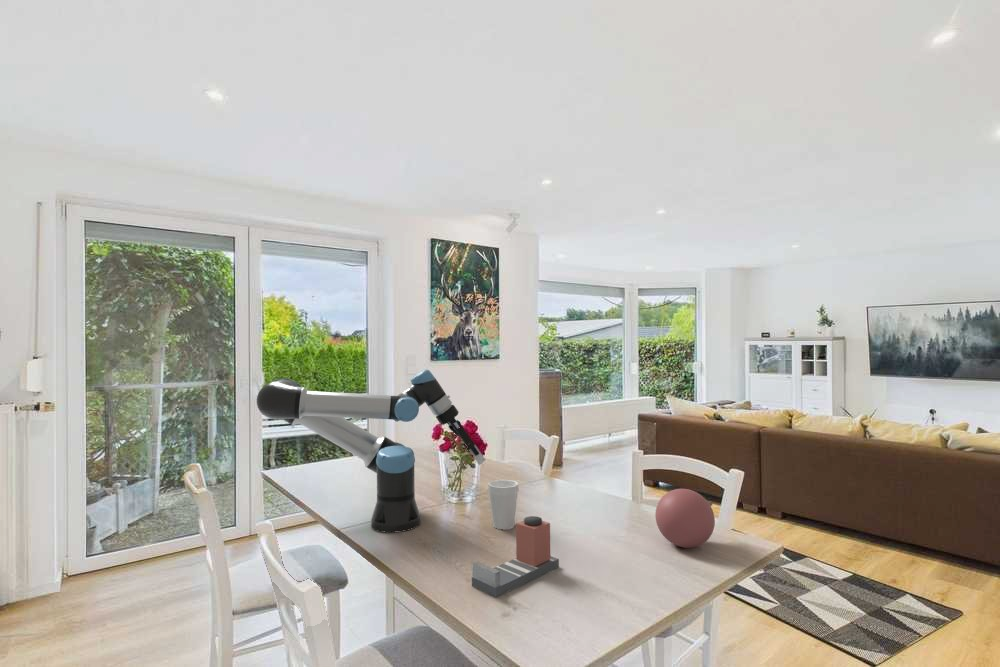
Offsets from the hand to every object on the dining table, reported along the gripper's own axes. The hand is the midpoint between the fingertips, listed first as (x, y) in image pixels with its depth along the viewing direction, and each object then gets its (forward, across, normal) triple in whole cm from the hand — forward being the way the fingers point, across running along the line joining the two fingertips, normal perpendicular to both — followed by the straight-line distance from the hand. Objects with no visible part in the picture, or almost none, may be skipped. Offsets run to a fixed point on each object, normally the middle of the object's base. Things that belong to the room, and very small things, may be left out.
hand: (478, 459), depth 183 cm
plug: (+14, -55, +7) cm, 57 cm away
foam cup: (+16, -22, +7) cm, 28 cm away
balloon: (+42, -51, -30) cm, 73 cm away
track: (+14, -57, +13) cm, 60 cm away
